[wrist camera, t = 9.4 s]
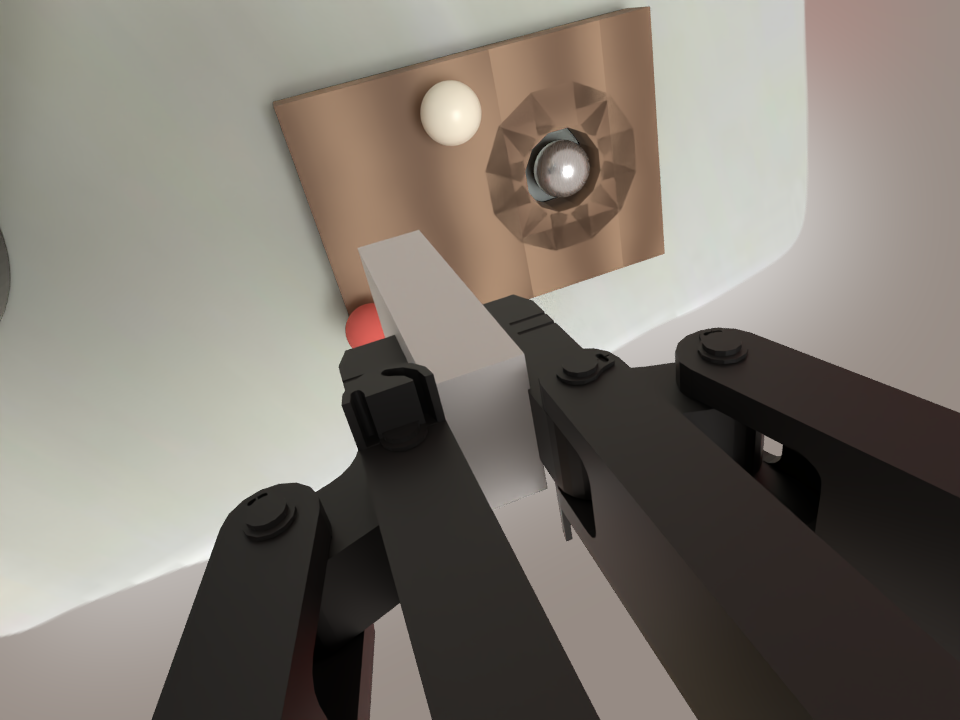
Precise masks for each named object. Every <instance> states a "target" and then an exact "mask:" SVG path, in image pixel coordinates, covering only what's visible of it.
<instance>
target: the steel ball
mask: <svg viewBox="0 0 960 720" xmlns="http://www.w3.org/2000/svg"><path fill="white" fill-rule="evenodd" d="M589 171H590V164H589V159H588V157H587V154H586V153H585V151H584V150H583V149H582V148H581V147H580V146H579V145H578V144H576V143H575V142H572V141H569V140H557V141H554V142H551V143H549V144H548V145H546V146H545V147H544V148H543V149H542V150H541V151H540V152H539V154H538V156H537V158H536V161H535V165H534V175H535V179H536V181H537V184H538V185H539V187H540V188H541V189H542V190H543V191H544V192H545V193H547V194H548V195H551V196H554V197H568V196H571V195H573V194H575V193H577V192H578V191H579V190H580V189H581V188H582V187H583V186H584V184H585V183H586V181H587V179H588V176H589Z"/></svg>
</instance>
